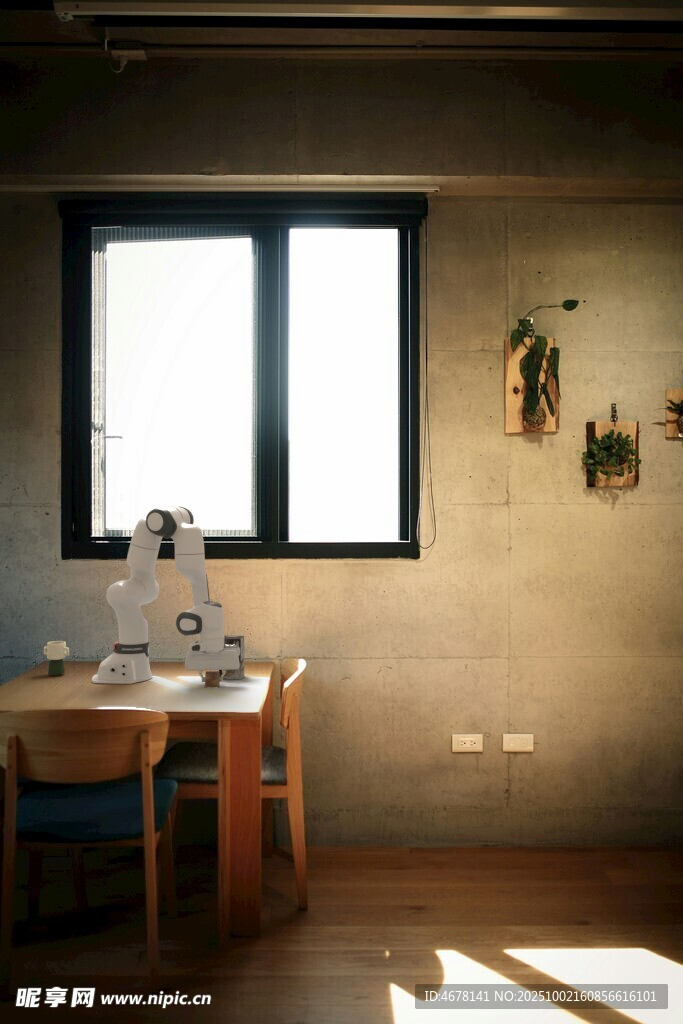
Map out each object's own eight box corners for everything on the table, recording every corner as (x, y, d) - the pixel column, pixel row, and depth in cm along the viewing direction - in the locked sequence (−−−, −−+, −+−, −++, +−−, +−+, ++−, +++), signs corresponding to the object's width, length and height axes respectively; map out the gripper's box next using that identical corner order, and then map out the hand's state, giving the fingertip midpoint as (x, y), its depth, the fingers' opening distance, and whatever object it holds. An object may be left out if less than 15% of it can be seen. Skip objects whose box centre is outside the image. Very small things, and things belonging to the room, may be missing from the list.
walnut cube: (205, 687, 282) (205, 674, 282) (205, 684, 287) (205, 671, 287) (218, 687, 282) (218, 674, 282) (219, 684, 287) (219, 671, 287)
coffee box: (244, 676, 301) (245, 635, 301) (241, 679, 295) (241, 638, 295) (222, 675, 302) (222, 635, 302) (218, 679, 296) (218, 637, 295)
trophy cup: (73, 673, 303) (73, 641, 303) (64, 677, 296) (64, 644, 296) (48, 672, 305) (48, 640, 305) (38, 676, 298) (38, 643, 298)
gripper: (240, 642, 289) (240, 679, 289) (185, 643, 286) (185, 680, 286) (240, 646, 283) (240, 682, 283) (184, 647, 280) (184, 684, 280)
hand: (212, 681), depth 285 cm, fingers closed on walnut cube, 5 cm apart
